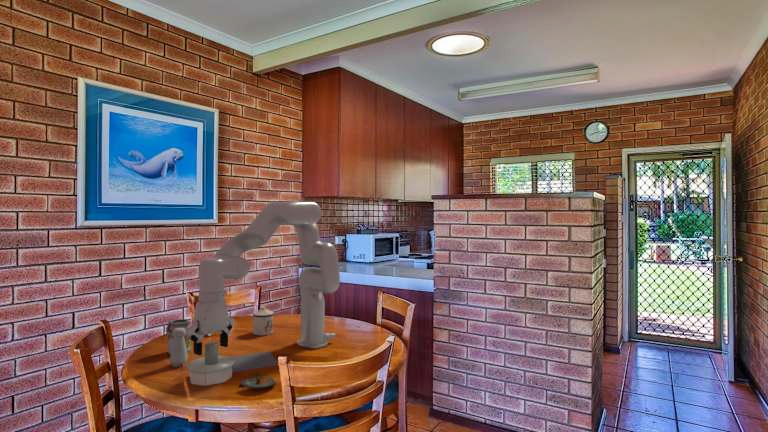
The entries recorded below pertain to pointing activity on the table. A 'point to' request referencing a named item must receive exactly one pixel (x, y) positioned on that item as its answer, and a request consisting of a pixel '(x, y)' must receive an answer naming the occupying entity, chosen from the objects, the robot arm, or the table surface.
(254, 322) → the teacup with lid
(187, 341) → the grey jar
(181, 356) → the salt shaker
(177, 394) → the table surface
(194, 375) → the bowl
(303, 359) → the table surface
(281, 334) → the table surface
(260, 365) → the mat
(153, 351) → the table surface
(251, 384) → the lid
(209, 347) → the cover
